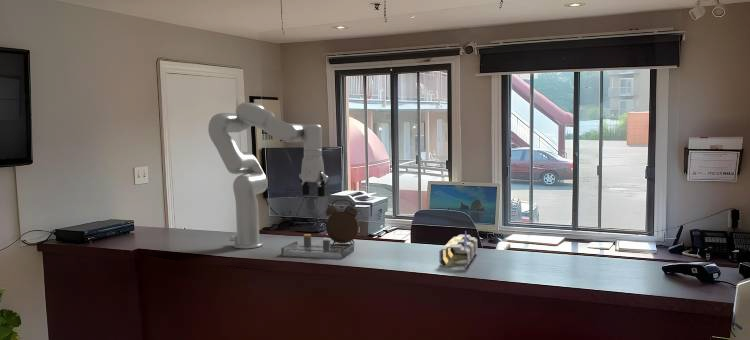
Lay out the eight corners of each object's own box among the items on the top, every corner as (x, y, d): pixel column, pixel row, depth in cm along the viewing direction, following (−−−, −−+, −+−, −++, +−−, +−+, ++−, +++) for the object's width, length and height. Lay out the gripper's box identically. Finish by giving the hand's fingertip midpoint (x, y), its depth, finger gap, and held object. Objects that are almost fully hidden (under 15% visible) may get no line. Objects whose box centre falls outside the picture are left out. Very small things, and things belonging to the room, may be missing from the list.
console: (281, 256, 220) (281, 248, 220) (295, 249, 233) (295, 241, 233) (343, 258, 213) (343, 250, 213) (354, 251, 227) (353, 243, 226)
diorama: (468, 269, 194) (468, 232, 193) (439, 267, 197) (439, 231, 197) (477, 254, 218) (477, 222, 217) (451, 253, 221) (451, 221, 220)
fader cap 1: (303, 245, 227) (303, 234, 227) (305, 245, 229) (305, 234, 229) (309, 246, 227) (309, 235, 227) (311, 245, 229) (310, 234, 228)
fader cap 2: (323, 250, 218) (322, 238, 218) (324, 249, 220) (324, 238, 219) (329, 250, 217) (328, 239, 217) (330, 249, 219) (330, 238, 219)
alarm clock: (360, 242, 244) (359, 198, 243) (358, 246, 237) (357, 200, 236) (328, 242, 246) (327, 198, 245) (325, 246, 239) (324, 200, 237)
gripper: (292, 154, 231) (293, 194, 232) (319, 155, 219) (320, 197, 220) (306, 153, 236) (307, 193, 237) (333, 154, 224) (334, 196, 225)
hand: (313, 195), depth 228 cm, fingers open, 9 cm apart
